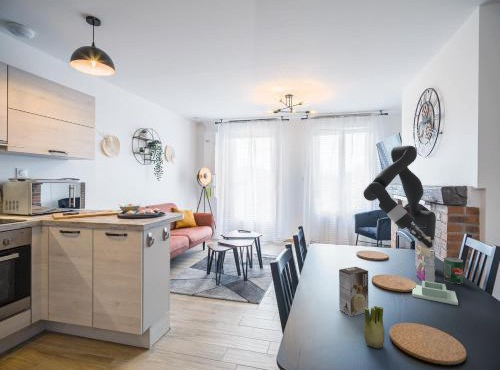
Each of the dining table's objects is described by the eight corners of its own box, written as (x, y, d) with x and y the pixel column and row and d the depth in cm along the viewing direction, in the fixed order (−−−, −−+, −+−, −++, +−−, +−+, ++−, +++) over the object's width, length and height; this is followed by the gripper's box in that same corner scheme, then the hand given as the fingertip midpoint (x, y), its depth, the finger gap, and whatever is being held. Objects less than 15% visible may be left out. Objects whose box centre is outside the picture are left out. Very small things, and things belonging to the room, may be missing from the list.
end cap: (412, 286, 130) (413, 277, 130) (454, 294, 122) (454, 284, 122) (412, 296, 119) (412, 286, 119) (458, 305, 111) (458, 294, 111)
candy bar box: (415, 276, 145) (415, 245, 145) (425, 276, 144) (425, 245, 144) (424, 283, 134) (424, 250, 134) (435, 284, 133) (435, 251, 133)
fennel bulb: (364, 348, 83) (364, 308, 82) (363, 339, 87) (363, 301, 87) (385, 352, 81) (385, 311, 80) (383, 343, 85) (384, 304, 85)
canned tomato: (460, 285, 132) (461, 262, 132) (441, 280, 138) (441, 259, 138) (464, 281, 138) (464, 259, 138) (445, 277, 144) (446, 256, 143)
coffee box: (356, 305, 111) (356, 266, 111) (368, 312, 105) (369, 270, 105) (338, 309, 107) (338, 269, 107) (350, 317, 101) (350, 274, 101)
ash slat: (421, 253, 125) (421, 236, 125) (430, 254, 123) (430, 237, 123) (421, 256, 122) (421, 238, 121) (430, 257, 120) (430, 238, 119)
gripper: (405, 213, 120) (439, 243, 114) (407, 209, 132) (437, 237, 126) (392, 224, 123) (423, 254, 117) (395, 220, 135) (424, 247, 129)
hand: (430, 245), depth 121 cm, fingers closed on ash slat, 4 cm apart
